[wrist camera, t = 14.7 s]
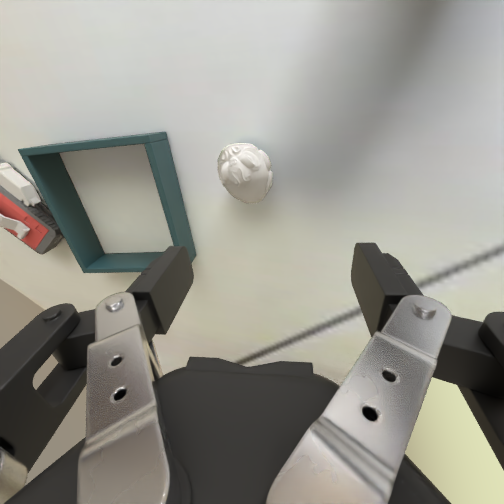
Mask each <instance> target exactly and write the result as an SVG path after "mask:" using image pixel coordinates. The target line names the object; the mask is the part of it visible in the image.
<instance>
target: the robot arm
mask: <svg viewBox="0 0 504 504" xmlns="http://www.w3.org/2000/svg"><path fill="white" fill-rule="evenodd" d="M193 278H194V275H193V269H192V265H191V261H190V258H189V254H188V250H187V248H186V247H185V246H170V247H168V249H167V250H166V251H165V252H164V253H163V255H162V256H159V257H158V258H156V259H155V260H153V261H152V262H150V264H149V265H148V266H147V267H146V268H145V270H144V271H143V272H142V273H141V275H139V276H138V278H137V279H136V280H135V281H134V282H133V283H132V285H131V286H130V287H129V288H128V289H127V290H126V292H121V293H116V294H113V295H111V296H109V297H107V298H105V299H104V300H102V301H101V302H100V303H99V304H98V305H97V306H96V308H95V309H94V310H89V311H84V312H80V313H78V312H77V310H76V309H75V307H74V306H73V305H72V304H67V303H66V304H59V305H56V306H53V307H51V308H49V309H47V310H45V311H43V312H42V313H40V314H39V315H38V316H36V317H35V318H34V319H33V320H32V321H31V322H30V323H29V324H28V325H26V326H25V327H24V329H22V330H21V331H20V332H19V333H18V334H17V335H15V336H14V337H13V338H12V339H11V340H10V341H9V342H8V343H7V344H5V345H4V346H3V347H2V348H1V349H0V504H451V503H450V502H449V501H448V500H447V499H446V497H445V496H444V495H443V494H442V493H441V492H440V491H439V490H438V489H437V488H436V487H435V486H434V485H433V484H432V482H431V481H430V480H429V479H428V478H427V477H426V476H425V475H424V474H423V473H422V472H421V470H420V469H419V468H418V467H417V466H416V465H415V464H414V463H413V462H412V461H411V460H410V459H409V458H408V456H407V455H406V454H405V450H406V448H407V445H408V442H409V439H410V437H411V433H412V431H413V428H414V425H415V423H416V420H417V417H418V414H419V411H420V409H421V406H422V403H423V401H424V398H425V395H426V392H427V389H428V386H429V384H430V381H431V378H432V377H434V378H437V379H440V380H443V381H446V382H450V383H453V384H456V385H458V387H459V389H460V391H461V393H462V394H463V396H464V398H465V400H466V402H467V404H468V405H469V408H470V409H471V411H472V413H473V415H474V417H475V419H476V420H477V422H478V424H479V426H480V428H481V430H482V431H483V433H484V435H485V437H486V439H487V441H488V442H489V444H490V446H491V448H492V450H493V451H494V453H495V455H496V457H497V459H498V461H499V463H500V464H501V466H502V468H503V470H504V312H493V313H490V314H488V315H487V316H486V318H485V320H484V321H483V322H479V321H475V320H470V319H466V318H461V317H457V316H453V315H451V312H450V311H449V309H448V308H447V307H446V306H445V305H443V304H442V303H440V302H439V301H437V300H435V299H432V298H430V297H427V296H424V295H423V294H422V293H421V291H420V290H419V288H418V287H417V286H416V284H415V283H414V282H413V280H412V279H411V277H410V276H409V275H408V273H407V272H406V270H405V269H403V266H402V265H401V264H400V262H399V261H398V260H397V259H396V258H394V257H393V256H391V255H390V254H388V253H381V251H380V249H379V248H378V246H377V245H376V243H356V245H355V248H354V255H353V262H352V270H351V282H352V286H353V288H354V291H355V294H356V297H357V299H358V302H359V305H360V307H361V310H362V313H363V316H364V318H365V321H366V324H367V326H368V329H369V332H370V335H371V337H372V338H371V339H370V341H369V342H368V344H367V346H366V347H365V349H364V350H363V352H362V353H361V355H360V356H359V358H358V359H357V361H356V362H355V364H354V366H353V367H352V369H351V370H350V372H349V373H348V375H347V376H346V378H345V379H344V381H343V383H342V384H341V386H339V385H337V384H336V383H334V382H333V381H331V380H329V379H327V378H325V377H323V376H320V375H318V374H314V373H313V365H312V363H307V362H286V361H279V362H274V363H268V364H263V365H258V366H252V367H245V366H242V365H239V364H235V363H232V362H229V361H226V360H223V359H219V358H206V357H190V358H189V360H188V363H187V365H186V367H183V368H180V369H176V370H174V371H172V372H169V373H167V374H165V375H164V376H163V373H162V369H161V366H160V362H159V359H158V355H157V352H156V348H155V345H154V342H153V340H152V338H153V337H154V335H155V334H165V335H166V333H167V331H168V329H169V327H170V325H171V324H172V322H173V320H174V318H175V316H176V314H177V312H178V310H179V308H180V306H181V304H182V303H183V301H184V299H185V297H186V295H187V293H188V291H189V289H190V287H191V285H192V283H193ZM51 354H52V355H53V356H54V357H55V358H56V360H57V361H58V362H59V363H58V364H57V365H56V367H55V368H54V369H53V370H52V372H51V373H50V374H49V375H48V376H47V378H46V379H45V380H44V381H43V382H42V384H41V385H40V386H39V387H38V389H37V390H35V389H34V387H33V383H32V382H33V377H34V374H35V373H36V372H37V370H38V369H39V368H40V367H41V366H42V365H43V364H44V362H45V361H46V360H47V359H48V358H49V357H50V356H51ZM86 384H87V395H86V396H87V397H86V437H85V438H84V439H82V440H81V441H80V442H79V443H78V444H76V445H75V446H74V447H73V448H71V449H70V450H69V451H68V452H66V453H65V454H64V455H63V456H61V457H60V458H59V459H58V460H56V461H55V462H54V463H53V464H52V465H50V466H49V467H48V468H47V469H45V470H44V471H43V472H42V473H40V474H39V475H38V476H37V477H36V478H34V479H33V480H32V481H31V482H30V483H28V484H27V485H26V486H25V483H26V479H27V474H28V473H29V471H30V470H31V468H32V467H33V465H34V463H35V462H36V460H37V459H38V457H39V456H40V454H41V453H42V451H43V450H44V448H45V447H46V445H47V443H48V442H49V441H50V439H51V437H52V436H53V434H54V433H55V431H56V430H57V428H58V427H59V425H60V424H61V422H62V421H63V419H64V417H65V416H66V415H67V413H68V412H69V410H70V409H71V407H72V406H73V404H74V402H75V401H76V399H77V398H78V396H79V395H80V393H81V392H82V390H83V388H84V387H85V386H86Z"/></svg>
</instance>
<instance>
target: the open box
mask: <svg viewBox="0 0 504 504" xmlns="http://www.w3.org/2000/svg"><path fill="white" fill-rule="evenodd" d="M135 144H144V145H145V148H146V152H147V155H148V159H149V162H150V165H151V169H152V172H153V176H154V179H155V182H156V186H157V189H158V193H159V196H160V200H161V203H162V206H163V210H164V213H165V217H166V220H167V223H168V227H169V230H170V234H171V237H172V240H173V244H174V246H185V247H186V248H187V250H188V254H189V258H190V261H191V263H192V261H193V260H194V258H195V257H196V252H195V248H194V244H193V240H192V236H191V232H190V227H189V223H188V219H187V215H186V211H185V207H184V203H183V199H182V195H181V191H180V187H179V183H178V179H177V175H176V171H175V167H174V163H173V159H172V155H171V151H170V147H169V143H168V139H167V135H166V132H158V133H149V134H140V135H131V136H122V137H113V138H104V139H95V140H86V141H78V142H69V143H60V144H51V145H44V146H37V147H30V148H23V149H18V151H19V153H20V155H21V156H22V159H23V160H24V162H25V164H26V166H27V168H28V170H29V172H30V174H31V175H32V177H33V179H34V181H35V183H36V185H37V187H38V189H39V190H40V192H41V194H42V196H43V198H44V200H45V202H46V204H47V205H48V207H49V209H50V211H51V213H52V215H53V217H54V219H55V220H56V222H57V224H58V226H59V228H60V230H61V232H62V234H63V235H64V237H65V239H66V241H67V243H68V245H69V247H70V249H71V250H72V252H73V254H74V256H75V258H76V260H77V262H78V264H79V265H80V267H81V269H82V271H83V273H112V272H143V271H144V270H145V268H146V267H147V266H148V265H149V264H150V262H152V261H153V260H155V259H156V258H158V257H159V256H162V255H163V253H164V252H149V253H117V254H105V253H104V251H103V249H102V247H101V245H100V242H99V240H98V238H97V236H96V234H95V232H94V229H93V227H92V225H91V223H90V221H89V219H88V216H87V214H86V212H85V210H84V208H83V205H82V203H81V201H80V199H79V197H78V195H77V192H76V190H75V188H74V186H73V184H72V182H71V179H70V177H69V175H68V173H67V171H66V169H65V166H64V164H63V162H62V160H61V158H60V155H59V152H69V151H78V150H88V149H97V148H107V147H116V146H126V145H135Z"/></svg>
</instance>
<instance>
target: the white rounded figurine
mask: <svg viewBox="0 0 504 504" xmlns="http://www.w3.org/2000/svg"><path fill="white" fill-rule="evenodd" d="M271 166H272V165H271V162H270V159H269V157H268V156H267V155H266V153H265V152H263V151H262V150H257V147H255V146H254V145H252V144H247V143H235V144H231V145H228V146H227V147H225V148H224V149H223V150H222V151H221V153H220V155H219V158H218V174H219V178H220V180H221V182H222V184H223V186H224V187H225V188H226V189H227V191H228V192H229V193H230V194H231V195H232V196H233V197H235V198H236V199H238V200H240V201H242V202H245V203H251V204H253V203H259V202H260V201H262V200H263V198H264V197H265V195H266V194H267V192H268V191H269V190H270V188H271V186H272V183H273V173H272V171H270V169H271Z"/></svg>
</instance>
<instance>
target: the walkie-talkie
mask: <svg viewBox="0 0 504 504" xmlns="http://www.w3.org/2000/svg"><path fill="white" fill-rule="evenodd" d="M0 227H3V228H4V229H6V230H7V231H8V232H10V233H11V234H13V235H14V236H15V237H17V238H18V239H20V240H21V241H22V242H24V243H25V244H26V245H28V246H29V247H30V248H32V249H33V250H34V251H36V252H37V253H39V254H42V255H43V254H44V253H46V252H48V251H49V250H51V249H53V248H54V247H56V246H57V244H58V243H59V242H60V240H61V239H62V238H63V237H64V235H63V234H62V232H61V230H60V228H59V226H58V224H57V222H56V220H55V219H54V217H53V215H52V213H51V211H50V210H49V209H48V208H47V207H45V206H44V205H43V204H42V203H41V199H40V197H39V195H38V193H37V191H36V190H35V188H34V186H33V185H32V184H31V183H30V182H29V181H27V180H26V179H25V178H24V177H23V176H21V175H20V174H19V173H18V172H16V171H15V170H14V169H13V168H12V166H10V165H9V164H8V163H0ZM64 238H65V237H64Z"/></svg>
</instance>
